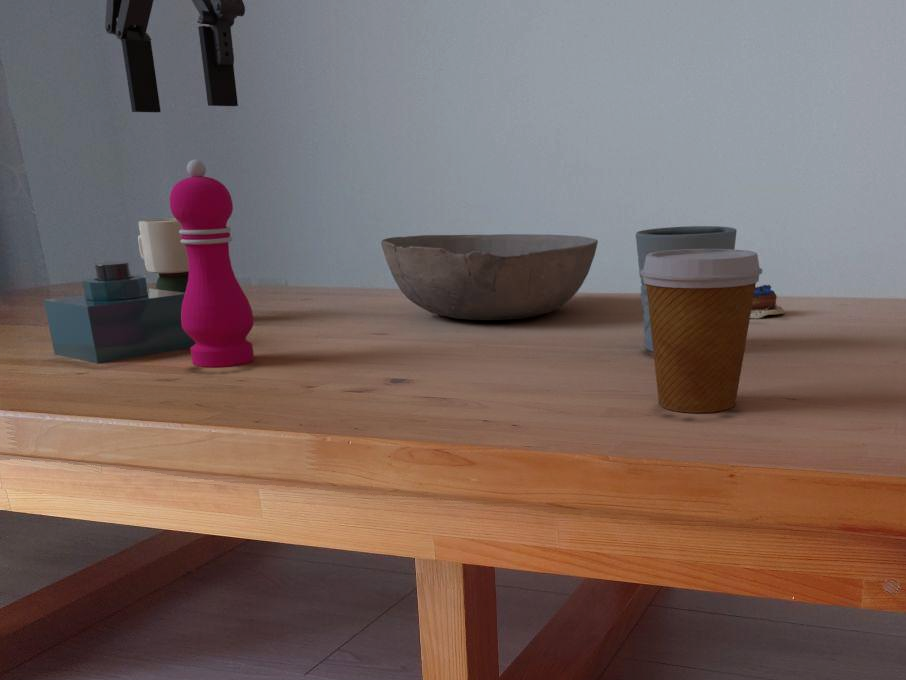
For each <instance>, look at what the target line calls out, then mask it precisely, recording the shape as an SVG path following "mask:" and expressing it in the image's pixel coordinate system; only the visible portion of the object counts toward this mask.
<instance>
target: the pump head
mask: <svg viewBox="0 0 906 680" xmlns="http://www.w3.org/2000/svg"><path fill="white" fill-rule="evenodd" d="M93 266H94V271H95V277H97V281H109V280H122V279H130V278H132V277H131V275H132V272H131V265H130V262H129V261H104V262H97V263H94V264H93Z"/></svg>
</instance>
